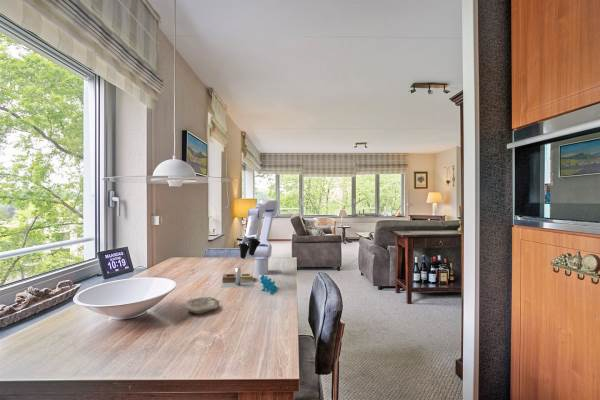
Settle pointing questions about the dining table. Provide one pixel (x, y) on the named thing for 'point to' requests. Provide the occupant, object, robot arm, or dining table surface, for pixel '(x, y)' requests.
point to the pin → (238, 276)
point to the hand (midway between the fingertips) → (246, 256)
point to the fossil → (201, 305)
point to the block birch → (246, 277)
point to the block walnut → (229, 278)
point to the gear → (268, 284)
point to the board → (243, 284)
